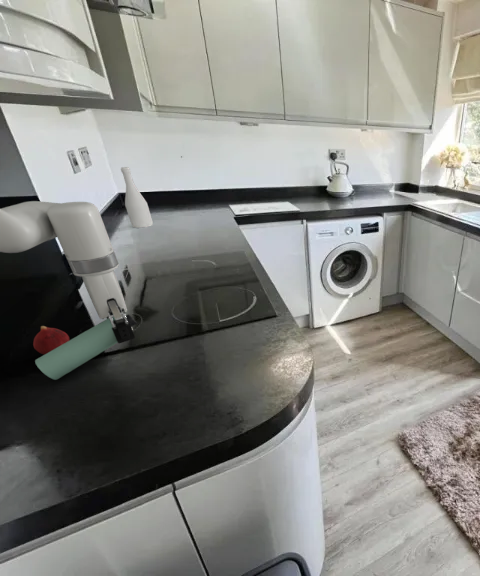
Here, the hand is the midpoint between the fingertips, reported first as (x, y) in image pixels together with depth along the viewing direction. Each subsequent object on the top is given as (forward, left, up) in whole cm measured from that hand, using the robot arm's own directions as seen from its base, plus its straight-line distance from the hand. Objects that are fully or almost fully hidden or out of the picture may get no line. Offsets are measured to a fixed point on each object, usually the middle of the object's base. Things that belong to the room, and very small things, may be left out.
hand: (123, 334), depth 76 cm
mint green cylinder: (-4, -3, -2) cm, 5 cm away
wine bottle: (-59, +116, -5) cm, 130 cm away
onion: (-16, 0, -5) cm, 17 cm away
